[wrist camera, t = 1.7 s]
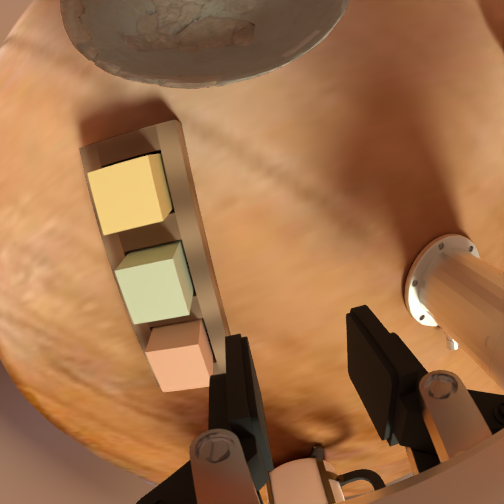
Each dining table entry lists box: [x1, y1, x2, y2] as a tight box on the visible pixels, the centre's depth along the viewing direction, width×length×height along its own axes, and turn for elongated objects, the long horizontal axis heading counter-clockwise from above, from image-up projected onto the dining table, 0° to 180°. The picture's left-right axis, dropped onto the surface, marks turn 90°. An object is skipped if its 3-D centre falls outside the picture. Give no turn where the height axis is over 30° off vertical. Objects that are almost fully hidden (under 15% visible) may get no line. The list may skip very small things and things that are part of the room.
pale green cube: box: [115, 240, 194, 324], centre depth 27 cm, size 5×5×5 cm
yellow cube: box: [87, 153, 173, 235], centre depth 25 cm, size 5×5×5 cm
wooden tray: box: [79, 120, 231, 386], centre depth 31 cm, size 26×9×4 cm, turn 11°
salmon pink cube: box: [145, 318, 213, 392], centre depth 30 cm, size 5×5×5 cm
